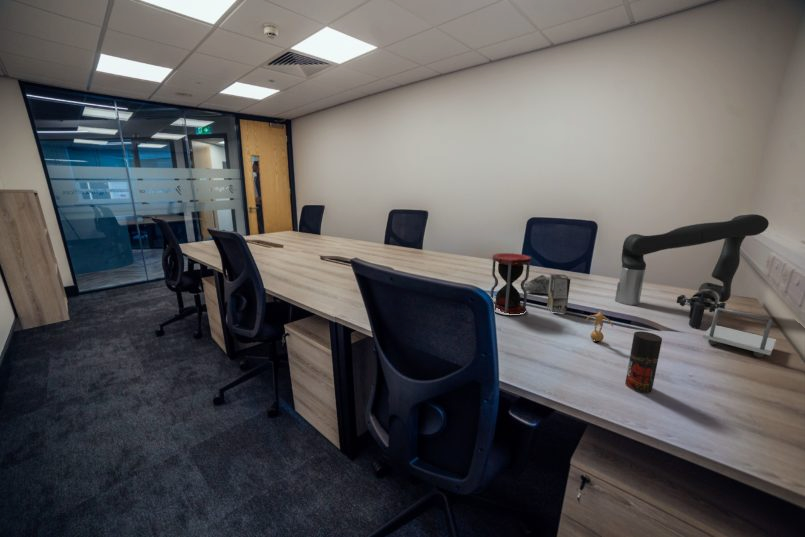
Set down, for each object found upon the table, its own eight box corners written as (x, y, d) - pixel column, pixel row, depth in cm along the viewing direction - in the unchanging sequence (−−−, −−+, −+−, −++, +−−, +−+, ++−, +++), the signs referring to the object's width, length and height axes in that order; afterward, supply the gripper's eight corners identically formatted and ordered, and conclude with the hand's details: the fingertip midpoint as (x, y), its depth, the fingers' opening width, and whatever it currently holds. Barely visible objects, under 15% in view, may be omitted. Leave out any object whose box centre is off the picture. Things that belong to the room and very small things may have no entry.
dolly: (701, 344, 114) (709, 306, 111) (710, 333, 123) (718, 298, 119) (768, 362, 101) (780, 320, 98) (773, 349, 110) (784, 310, 107)
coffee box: (566, 315, 141) (571, 279, 137) (551, 313, 142) (555, 278, 139) (561, 308, 150) (565, 274, 146) (546, 307, 151) (550, 273, 147)
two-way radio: (701, 329, 126) (709, 293, 123) (686, 327, 128) (694, 291, 125) (698, 325, 130) (706, 289, 127) (683, 322, 133) (691, 287, 129)
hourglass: (486, 313, 142) (490, 258, 137) (491, 302, 157) (494, 252, 151) (525, 318, 136) (530, 261, 131) (526, 306, 151) (531, 254, 145)
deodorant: (620, 381, 91) (628, 331, 87) (639, 380, 91) (649, 331, 88) (636, 393, 85) (646, 341, 82) (657, 392, 85) (668, 340, 82)
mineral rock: (522, 293, 173) (524, 274, 170) (528, 288, 181) (530, 271, 179) (548, 297, 165) (550, 278, 163) (553, 292, 173) (555, 274, 171)
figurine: (610, 342, 115) (615, 310, 112) (608, 348, 110) (614, 315, 107) (583, 336, 119) (588, 305, 117) (581, 342, 115) (586, 310, 112)
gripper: (685, 286, 141) (675, 293, 131) (731, 294, 130) (723, 302, 120) (682, 302, 143) (671, 310, 133) (727, 312, 132) (718, 321, 122)
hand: (696, 306), depth 127 cm, fingers open, 8 cm apart
